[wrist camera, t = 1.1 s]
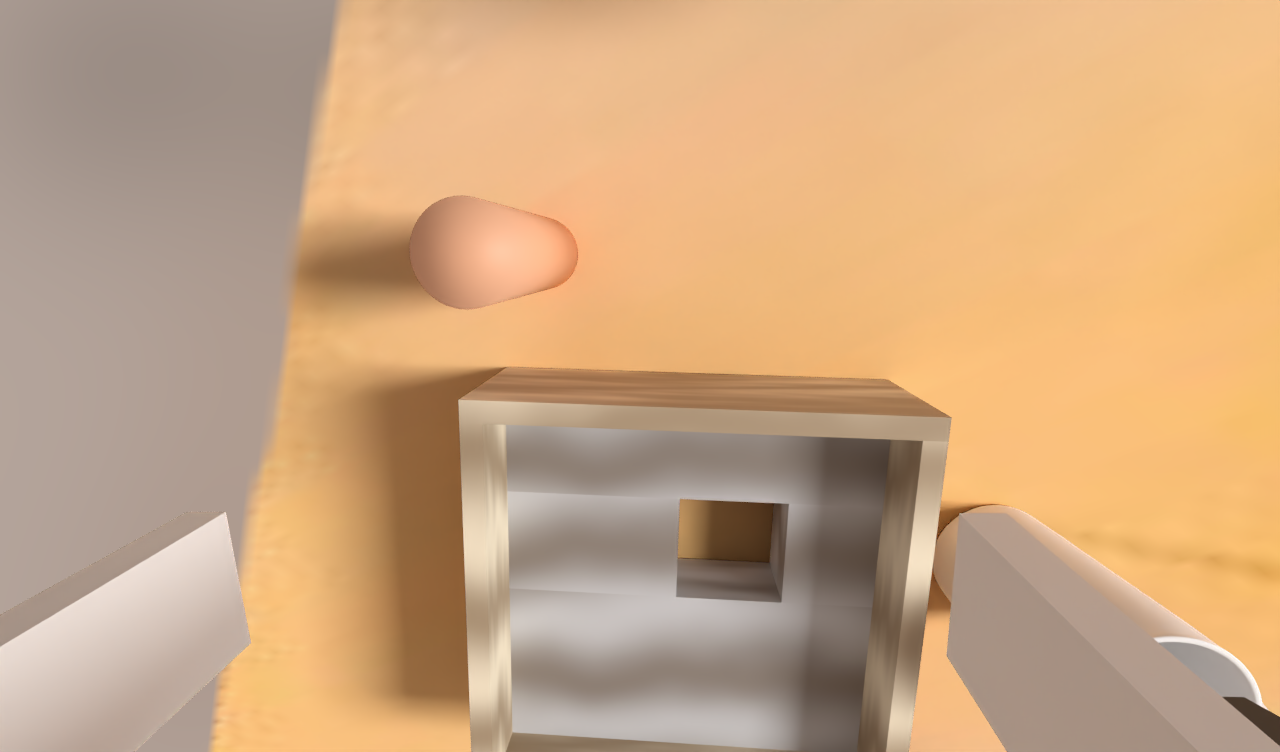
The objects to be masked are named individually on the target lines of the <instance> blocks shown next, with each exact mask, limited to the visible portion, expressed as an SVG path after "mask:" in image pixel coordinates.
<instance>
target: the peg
mask: <svg viewBox="0 0 1280 752" xmlns="http://www.w3.org/2000/svg"><path fill="white" fill-rule="evenodd" d="M410 260H411V264H412V268H413V271H414V273H415V275H416V277H417V279H418V281H419V283H420V284H421V285H422V287H423V288H424V289H425V290H426V291H427V292H428V293H429V294H430V295H431V296H432V297H433V298H435V299H436V300H438V301H439V302H441V303H443V304H445V305H447V306H450V307H453V308H458V309H477V308H482V307H485V306H489V305H492V304H496V303H500V302H503V301H507V300H511V299H514V298H518V297H522V296H525V295H529V294H532V293H536V292H540V291H543V290H547V289H551V288H554V287H557V286H559V285H561V284H563V283H564V282H565V281H566V280H568V279H569V277H570V276H571V275H572V273H573V272H574V270H575V267H576V264H577V260H578V249H577V244H576V241H575V239H574V237H573V235H572V234H571V232H570V231H569V230H568V229H567V228H566V227H565V226H564V225H563V224H561V223H560V222H558V221H556V220H553V219H550V218H546V217H543V216H539V215H536V214H532V213H529V212H525V211H522V210H518V209H514V208H511V207H507V206H504V205H500V204H497V203H493V202H490V201H486V200H482V199H479V198H475V197H471V196H452V197H447V198H444V199H442V200H439V201H437V202H436V203H434V204H432V205H431V206H430V207H428V208H427V209H426V210H425V211H424V212H423V213H422V215H421V216H420V217H419V219H418V220H417V222H416V224H415V226H414V228H413V231H412V234H411V238H410Z"/></svg>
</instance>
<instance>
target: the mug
mask: <svg viewBox="0 0 1280 752" xmlns="http://www.w3.org/2000/svg"><path fill="white" fill-rule="evenodd" d="M965 513H1007V514H1008V515H1009V516H1010V517H1011V518H1013V519H1014V520H1015V521H1016V522H1017V523H1019V524H1020V525H1021V526H1022V527H1023V528H1024V529H1026V530H1027V531H1028V532H1029V533H1030V534H1031V535H1033V536H1034V537H1035V538H1036V539H1037V540H1038V541H1040V542H1041V543H1042V544H1043V545H1044V546H1046V547H1047V548H1048V549H1049V550H1050V551H1051V552H1053V553H1054V554H1055V555H1056V556H1057V557H1058V558H1060V559H1061V560H1062V561H1063V562H1064V563H1065V564H1067V565H1068V566H1069V567H1070V568H1071V569H1072V570H1074V571H1075V572H1076V573H1077V574H1078V575H1080V576H1081V577H1082V578H1083V579H1084V580H1085V581H1087V582H1088V583H1089V584H1090V585H1091V586H1092V587H1094V588H1095V589H1096V590H1097V591H1098V592H1099V593H1101V594H1102V595H1103V596H1104V597H1105V598H1107V599H1108V600H1109V601H1110V602H1111V603H1112V604H1114V605H1115V606H1116V607H1117V608H1118V609H1119V610H1121V611H1122V612H1123V613H1124V614H1125V615H1126V616H1128V617H1129V618H1130V619H1131V620H1132V621H1133V622H1135V623H1136V624H1137V625H1138V626H1139V627H1141V628H1142V629H1143V630H1144V631H1145V632H1146V633H1148V634H1149V635H1150V636H1151V637H1152V638H1153V639H1155V640H1156V641H1157V642H1158V643H1159V644H1160V645H1162V646H1163V647H1164V648H1165V649H1166V650H1168V651H1169V652H1170V653H1171V654H1172V655H1173V656H1175V657H1176V658H1177V659H1178V660H1179V661H1180V662H1182V663H1183V664H1184V665H1185V666H1186V667H1187V668H1189V669H1190V670H1191V671H1192V672H1193V673H1195V674H1196V675H1197V676H1198V677H1199V678H1200V679H1202V680H1203V681H1204V682H1205V683H1206V684H1207V685H1209V686H1210V687H1211V688H1212V689H1213V690H1214V691H1216V692H1217V693H1218V694H1219V695H1220V696H1221V697H1245V698H1247V699H1249V700H1250V701H1252V702H1254V703H1256V704H1257V705H1259V706H1261V707H1263V708H1265V709H1266V710H1268V709H1267V708H1266V707H1265V705H1264V704H1263V703H1262V699H1261V695H1260V691H1259V688H1258V686H1257V684H1256V681H1255V680H1254V678H1253V676H1252V675H1251V673H1250V672H1249V670H1248V669H1247V668H1246V667H1245V666H1244V665H1243V664H1242V663H1241V662H1240V661H1239V660H1238V659H1237V658H1236V657H1235V656H1233V655H1232V654H1231V653H1229V652H1228V651H1226V650H1224V649H1223V648H1221V647H1219V646H1218V645H1217V644H1215V643H1214V642H1212V641H1211V640H1210V639H1208V638H1207V637H1206V636H1204V635H1203V634H1201V633H1200V632H1199V631H1197V630H1196V629H1195V628H1193V627H1192V626H1191V625H1189V624H1188V623H1186V622H1185V621H1183V620H1182V619H1181V618H1179V617H1178V616H1176V615H1175V614H1173V613H1172V612H1170V611H1169V610H1168V609H1166V608H1165V607H1163V606H1162V605H1160V604H1159V603H1157V602H1156V601H1154V600H1153V599H1152V598H1150V597H1149V596H1147V595H1146V594H1144V593H1143V592H1141V591H1140V590H1138V589H1137V588H1136V587H1134V586H1133V585H1131V584H1130V583H1128V582H1127V581H1125V580H1124V579H1122V578H1121V577H1120V576H1118V575H1117V574H1115V573H1114V572H1112V571H1111V570H1109V569H1108V568H1106V567H1105V566H1104V565H1102V564H1101V563H1099V562H1098V561H1096V560H1095V559H1093V558H1092V557H1091V556H1089V555H1088V554H1086V553H1085V552H1083V551H1082V550H1080V549H1079V548H1078V547H1076V546H1075V545H1073V544H1072V543H1070V542H1069V541H1068V540H1066V539H1065V538H1063V537H1062V536H1060V535H1059V534H1058V533H1056V532H1055V531H1053V530H1051V529H1050V528H1048V527H1047V526H1045V525H1044V524H1043V523H1041V522H1040V521H1038V520H1037V519H1035V518H1034V517H1032V516H1031V515H1029V514H1028V513H1026V512H1024V511H1022V510H1019V509H1017V508H1013V507H1010V506H1004V505H987V506H981V507H977V508H974V509H971V510H969V511H967V512H965ZM958 523H959V516H958V517H956V518H955V519H954V520H953V521H951V522H950V523H949V524H948V525H947V526H946V527H945V529H944V530H943V531H942V533H941V534H940V536H939V537H938V539H937V541H936V544H935V552H934V559H933V572H934V576H935V579H936V581H937V583H938V585H939V587H940V588H941V590H942V591H943V593H944V594H945V595H946V597H947V598H948V599H949V601H950V602H951V601H952V590H953V579H954V567H955V556H956V545H957V534H958ZM1268 711H1269V710H1268Z"/></svg>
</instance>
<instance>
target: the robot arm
mask: <svg viewBox="0 0 1280 752" xmlns="http://www.w3.org/2000/svg"><path fill="white" fill-rule="evenodd" d="M250 643H251V641H250V635H249V630H248V625H247V620H246V615H245V609H244V604H243V599H242V594H241V589H240V584H239V578H238V573H237V568H236V563H235V558H234V553H233V548H232V542H231V537H230V532H229V527H228V522H227V516H226V512H186V513H184V514H182V515H180V516H178V517H177V518H175V519H173V520H171V521H169V522H168V523H166V524H164V525H162V526H160V527H159V528H157V529H155V530H153V531H151V532H149V533H148V534H146V535H144V536H142V537H140V538H139V539H137V540H135V541H133V542H131V543H130V544H128V545H126V546H124V547H122V548H120V549H119V550H117V551H115V552H113V553H111V554H110V555H108V556H106V557H104V558H102V559H101V560H99V561H97V562H95V563H93V564H91V565H90V566H88V567H86V568H84V569H82V570H80V571H79V572H77V573H75V574H73V575H71V576H70V577H68V578H66V579H64V580H62V581H61V582H59V583H57V584H55V585H53V586H52V587H50V588H48V589H46V590H44V591H42V592H41V593H39V594H37V595H35V596H34V597H31V598H30V599H28V600H26V601H24V602H22V603H21V604H19V605H17V606H15V607H13V608H12V609H10V610H8V611H6V612H4V613H3V614H1V615H0V752H135V751H136V750H137V749H138V748H139V747H140V746H141V745H142V744H143V743H144V742H146V741H147V740H148V739H149V738H150V737H151V736H152V735H153V734H154V733H155V732H156V731H157V730H158V729H159V728H160V727H161V726H163V724H165V723H166V722H167V721H168V720H169V719H170V718H171V717H172V716H173V715H174V714H175V713H177V712H178V711H179V710H180V709H181V708H182V707H183V706H184V705H185V704H186V703H187V702H188V701H189V700H190V699H192V697H194V696H195V695H196V694H197V693H198V692H199V691H200V690H201V689H202V688H203V687H204V686H205V685H206V684H208V683H209V682H210V681H211V680H212V679H213V678H214V677H215V676H216V675H217V674H218V673H219V672H220V671H221V670H223V669H224V668H225V667H226V666H227V665H228V664H229V663H230V662H231V661H232V660H233V659H234V658H235V657H236V656H237V655H239V654H240V653H241V652H242V651H243V650H244V649H245V648H246V647H247V646H248V645H249V644H250ZM947 657H948V659H949V660H950V662H951V664H952V665H953V667H954V668H955V670H956V671H957V673H958V675H959V676H960V678H961V679H962V681H963V683H964V684H965V686H966V687H967V689H968V691H969V692H970V694H971V695H972V697H973V698H974V700H975V702H976V703H977V705H978V706H979V708H980V710H981V711H982V713H983V714H984V716H985V718H986V719H987V721H988V722H989V724H990V726H991V727H992V729H993V730H994V732H995V733H996V735H997V737H998V738H999V740H1000V741H1001V743H1002V745H1003V746H1004V748H1005V749H1006V751H1007V752H1280V717H1279V716H1277V715H1275V714H1273V713H1272V712H1270V711H1268V710H1266V709H1265V708H1263V707H1261V706H1259V705H1257V704H1256V703H1254V702H1252V701H1250V700H1249V699H1247V698H1245V697H1221V696H1220V695H1219V694H1218V693H1217V692H1216V691H1214V690H1213V689H1212V688H1211V687H1210V686H1209V685H1207V684H1206V683H1205V682H1204V681H1203V680H1202V679H1200V678H1199V677H1198V676H1197V675H1196V674H1195V673H1193V672H1192V671H1191V670H1190V669H1189V668H1187V667H1186V666H1185V665H1184V664H1183V663H1182V662H1180V661H1179V660H1178V659H1177V658H1176V657H1175V656H1173V655H1172V654H1171V653H1170V652H1169V651H1168V650H1166V649H1165V648H1164V647H1163V646H1162V645H1160V644H1159V643H1158V642H1157V641H1156V640H1155V639H1153V638H1152V637H1151V636H1150V635H1149V634H1148V633H1146V632H1145V631H1144V630H1143V629H1142V628H1141V627H1139V626H1138V625H1137V624H1136V623H1135V622H1133V621H1132V620H1131V619H1130V618H1129V617H1128V616H1126V615H1125V614H1124V613H1123V612H1122V611H1121V610H1119V609H1118V608H1117V607H1116V606H1115V605H1114V604H1112V603H1111V602H1110V601H1109V600H1108V599H1107V598H1105V597H1104V596H1103V595H1102V594H1101V593H1099V592H1098V591H1097V590H1096V589H1095V588H1094V587H1092V586H1091V585H1090V584H1089V583H1088V582H1087V581H1085V580H1084V579H1083V578H1082V577H1081V576H1080V575H1078V574H1077V573H1076V572H1075V571H1074V570H1072V569H1071V568H1070V567H1069V566H1068V565H1067V564H1065V563H1064V562H1063V561H1062V560H1061V559H1060V558H1058V557H1057V556H1056V555H1055V554H1054V553H1053V552H1051V551H1050V550H1049V549H1048V548H1047V547H1046V546H1044V545H1043V544H1042V543H1041V542H1040V541H1038V540H1037V539H1036V538H1035V537H1034V536H1033V535H1031V534H1030V533H1029V532H1028V531H1027V530H1026V529H1024V528H1023V527H1022V526H1021V525H1020V524H1019V523H1017V522H1016V521H1015V520H1014V519H1013V518H1011V517H1010V516H1009V515H1008V514H1007V513H959V523H958V534H957V545H956V556H955V567H954V579H953V590H952V601H951V612H950V623H949V635H948V646H947Z"/></svg>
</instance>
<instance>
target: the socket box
mask: <svg viewBox="0 0 1280 752" xmlns="http://www.w3.org/2000/svg"><path fill="white" fill-rule="evenodd" d="M458 405H459V432H460V459H461V486H462V513H463V540H464V568H465V595H466V622H467V649H468V676H469V703H470V730H471V752H909V748H910V740H911V732H912V724H913V716H914V708H915V701H916V693H917V685H918V677H919V669H920V661H921V653H922V646H923V638H924V630H925V622H926V614H927V606H928V599H929V591H930V583H931V575H932V567H933V559H934V552H935V544H936V536H937V528H938V520H939V512H940V505H941V497H942V489H943V481H944V473H945V465H946V458H947V450H948V442H949V434H950V426H951V417H950V416H948V415H946V414H945V413H943V412H941V411H939V410H938V409H936V408H934V407H933V406H931V405H929V404H928V403H926V402H924V401H923V400H921V399H919V398H918V397H916V396H914V395H913V394H911V393H909V392H908V391H906V390H904V389H902V388H901V387H899V386H897V385H896V384H894V383H892V382H891V381H889V380H881V379H851V378H821V377H791V376H761V375H731V374H701V373H671V372H641V371H611V370H581V369H551V368H521V367H506V368H505V369H504V370H502V371H501V372H499V373H498V374H496V375H495V376H493V377H492V378H490V379H489V380H487V381H486V382H484V383H483V384H481V385H480V386H478V387H477V388H475V389H474V390H472V391H471V392H469V393H468V394H466V395H465V396H463V397H462V398H460V399H459V400H458ZM680 499H693V500H716V501H738V502H761V503H774V505H773V519H772V534H771V548H770V562H769V563H767V562H747V561H727V560H706V559H686V558H678V532H679V506H680Z"/></svg>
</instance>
